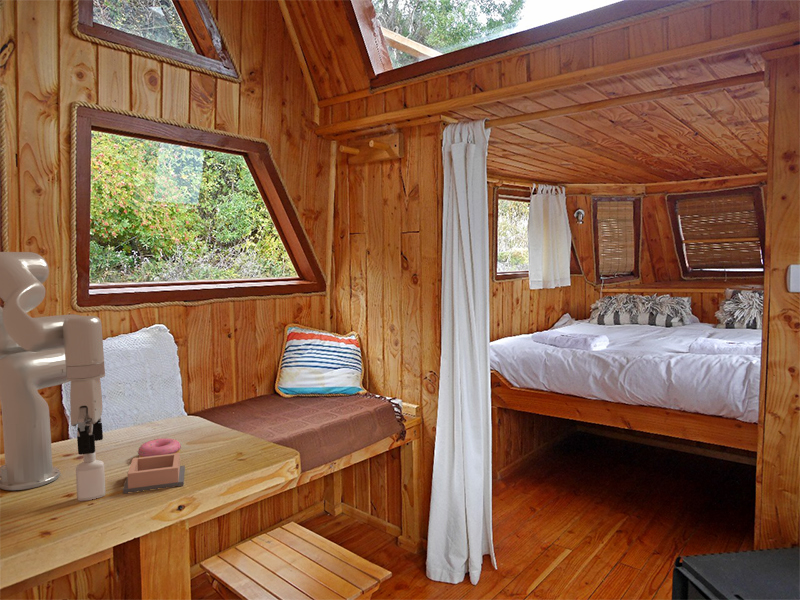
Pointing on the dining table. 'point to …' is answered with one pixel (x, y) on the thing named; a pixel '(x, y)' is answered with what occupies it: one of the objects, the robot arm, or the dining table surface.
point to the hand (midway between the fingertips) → (91, 446)
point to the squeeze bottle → (90, 478)
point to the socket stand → (154, 473)
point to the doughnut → (159, 447)
